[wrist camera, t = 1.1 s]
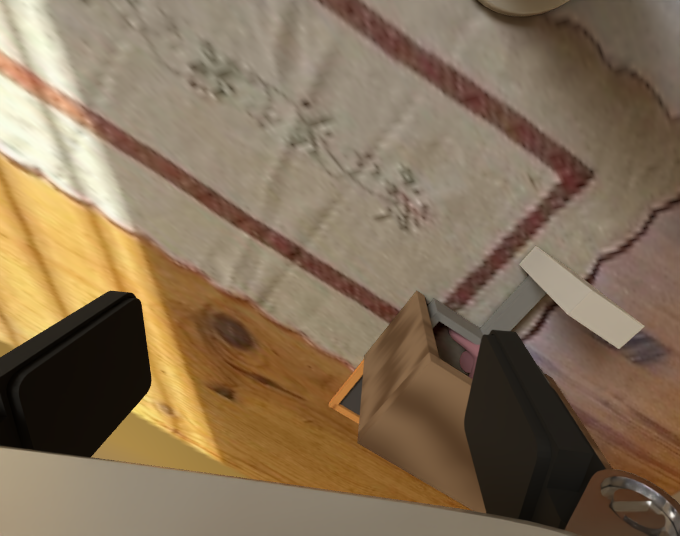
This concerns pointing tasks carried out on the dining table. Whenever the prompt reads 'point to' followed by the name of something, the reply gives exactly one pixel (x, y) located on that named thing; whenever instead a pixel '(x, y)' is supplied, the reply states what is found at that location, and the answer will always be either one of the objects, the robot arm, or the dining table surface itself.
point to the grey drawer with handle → (563, 289)
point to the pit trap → (350, 395)
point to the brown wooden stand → (423, 407)
